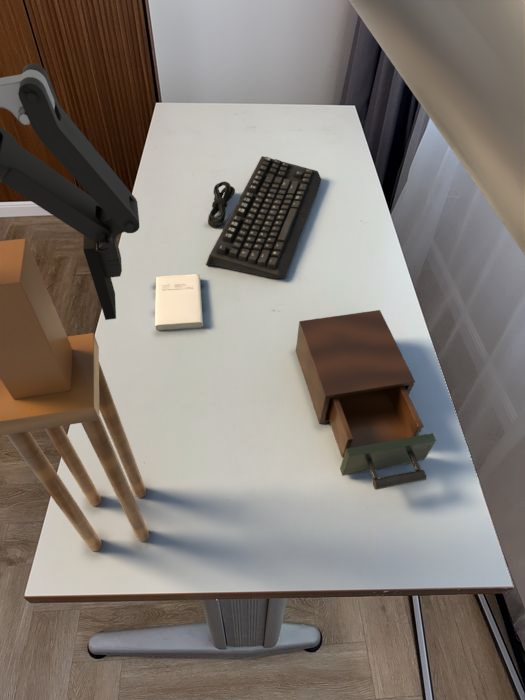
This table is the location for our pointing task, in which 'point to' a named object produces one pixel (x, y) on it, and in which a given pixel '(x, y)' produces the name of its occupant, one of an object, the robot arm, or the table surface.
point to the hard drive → (178, 302)
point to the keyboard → (264, 219)
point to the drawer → (379, 434)
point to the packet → (30, 328)
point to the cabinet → (349, 358)
